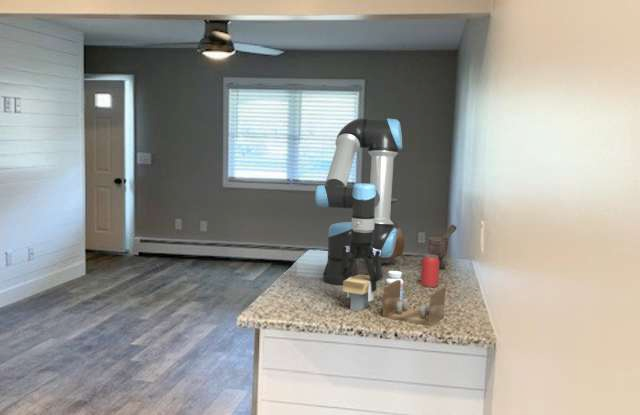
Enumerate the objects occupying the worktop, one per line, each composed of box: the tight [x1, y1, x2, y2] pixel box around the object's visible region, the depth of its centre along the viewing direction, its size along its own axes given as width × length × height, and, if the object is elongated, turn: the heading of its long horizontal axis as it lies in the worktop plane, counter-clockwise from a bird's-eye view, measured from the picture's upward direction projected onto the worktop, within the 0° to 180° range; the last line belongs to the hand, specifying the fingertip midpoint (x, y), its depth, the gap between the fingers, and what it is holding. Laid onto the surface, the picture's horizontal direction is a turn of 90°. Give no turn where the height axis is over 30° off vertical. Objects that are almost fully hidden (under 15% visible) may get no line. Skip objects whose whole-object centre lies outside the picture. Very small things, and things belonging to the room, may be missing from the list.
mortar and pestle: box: [428, 224, 458, 269], centre depth 269 cm, size 12×9×20 cm
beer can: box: [420, 253, 440, 288], centre depth 235 cm, size 7×7×12 cm
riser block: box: [349, 292, 370, 312], centre depth 201 cm, size 3×8×6 cm, turn 151°
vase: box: [372, 197, 405, 265], centre depth 272 cm, size 23×19×30 cm
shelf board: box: [342, 273, 378, 295], centre depth 201 cm, size 12×7×4 cm, turn 150°
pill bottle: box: [384, 270, 404, 301], centre depth 206 cm, size 6×6×11 cm
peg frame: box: [382, 280, 446, 327], centre depth 191 cm, size 16×11×10 cm
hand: (360, 298), depth 201 cm, fingers closed on shelf board, 7 cm apart
